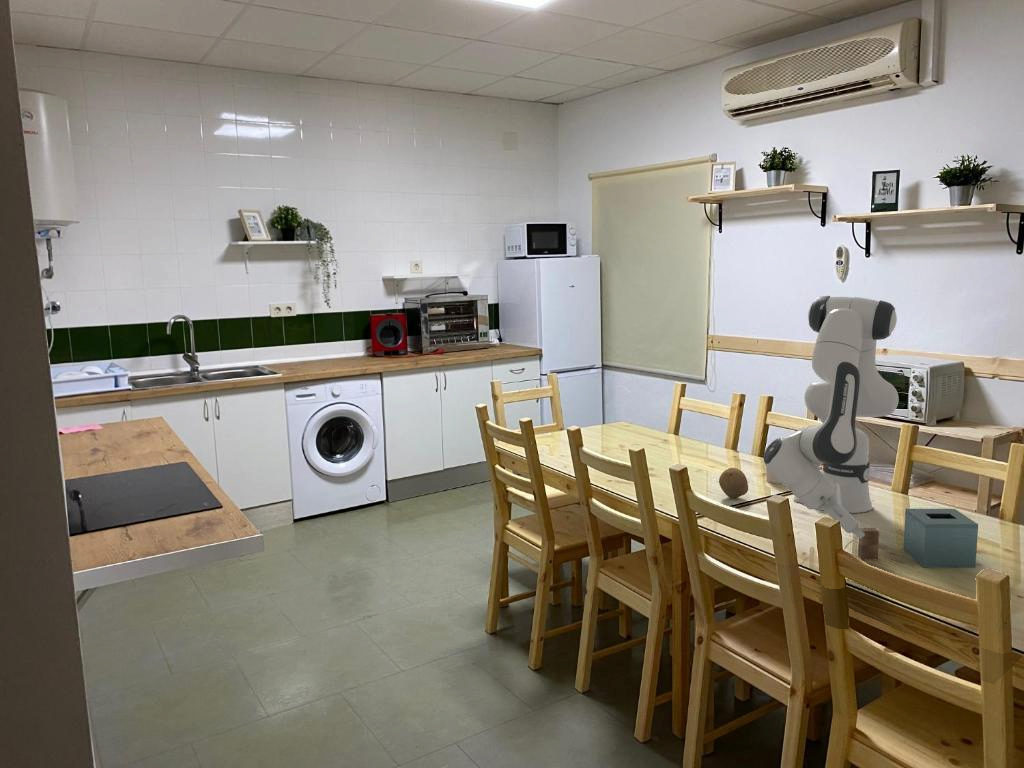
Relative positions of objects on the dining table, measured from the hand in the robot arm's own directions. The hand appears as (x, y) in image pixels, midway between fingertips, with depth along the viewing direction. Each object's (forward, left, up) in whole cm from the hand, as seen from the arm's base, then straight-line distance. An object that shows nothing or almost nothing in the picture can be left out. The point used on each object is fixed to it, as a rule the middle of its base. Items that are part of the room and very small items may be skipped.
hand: (855, 529), depth 192 cm
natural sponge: (-51, +21, -8) cm, 56 cm away
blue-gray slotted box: (+14, +14, -7) cm, 22 cm away
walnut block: (+2, +2, -7) cm, 8 cm away
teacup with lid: (-51, +50, -8) cm, 72 cm away
